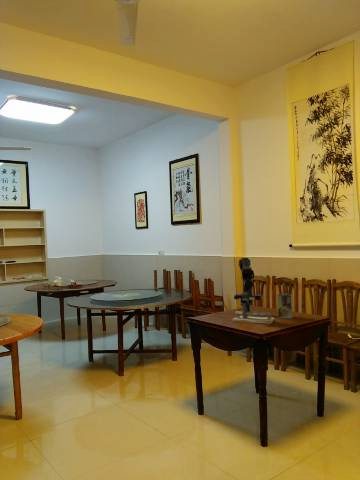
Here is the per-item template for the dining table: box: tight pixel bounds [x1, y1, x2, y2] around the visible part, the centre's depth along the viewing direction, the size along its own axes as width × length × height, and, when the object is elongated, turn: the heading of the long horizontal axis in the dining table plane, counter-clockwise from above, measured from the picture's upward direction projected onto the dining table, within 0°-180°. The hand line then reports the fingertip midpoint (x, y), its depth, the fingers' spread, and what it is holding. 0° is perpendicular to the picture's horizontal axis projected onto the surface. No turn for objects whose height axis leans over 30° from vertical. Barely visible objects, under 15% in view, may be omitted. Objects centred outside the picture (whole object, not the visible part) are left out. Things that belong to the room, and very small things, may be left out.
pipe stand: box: [232, 310, 275, 325], centre depth 266 cm, size 12×26×6 cm, turn 65°
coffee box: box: [277, 293, 294, 319], centre depth 271 cm, size 9×6×16 cm
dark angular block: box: [241, 305, 249, 318], centre depth 268 cm, size 5×2×8 cm, turn 155°
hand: (248, 309), depth 267 cm, fingers closed
